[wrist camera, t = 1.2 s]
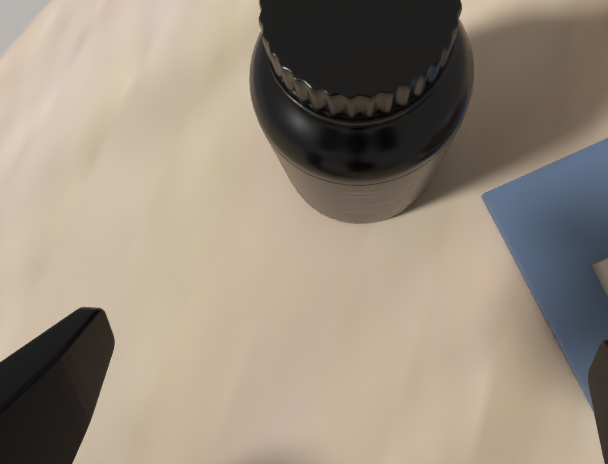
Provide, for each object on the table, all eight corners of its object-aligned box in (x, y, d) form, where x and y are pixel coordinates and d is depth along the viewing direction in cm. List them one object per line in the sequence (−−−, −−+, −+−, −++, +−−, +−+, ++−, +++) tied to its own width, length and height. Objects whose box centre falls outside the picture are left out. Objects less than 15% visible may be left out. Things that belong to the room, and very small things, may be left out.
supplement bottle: (262, 124, 25) (171, -53, 13) (392, 59, 24) (421, -181, 13) (325, 254, 23) (289, 189, 12) (464, 187, 23) (570, 50, 11)
